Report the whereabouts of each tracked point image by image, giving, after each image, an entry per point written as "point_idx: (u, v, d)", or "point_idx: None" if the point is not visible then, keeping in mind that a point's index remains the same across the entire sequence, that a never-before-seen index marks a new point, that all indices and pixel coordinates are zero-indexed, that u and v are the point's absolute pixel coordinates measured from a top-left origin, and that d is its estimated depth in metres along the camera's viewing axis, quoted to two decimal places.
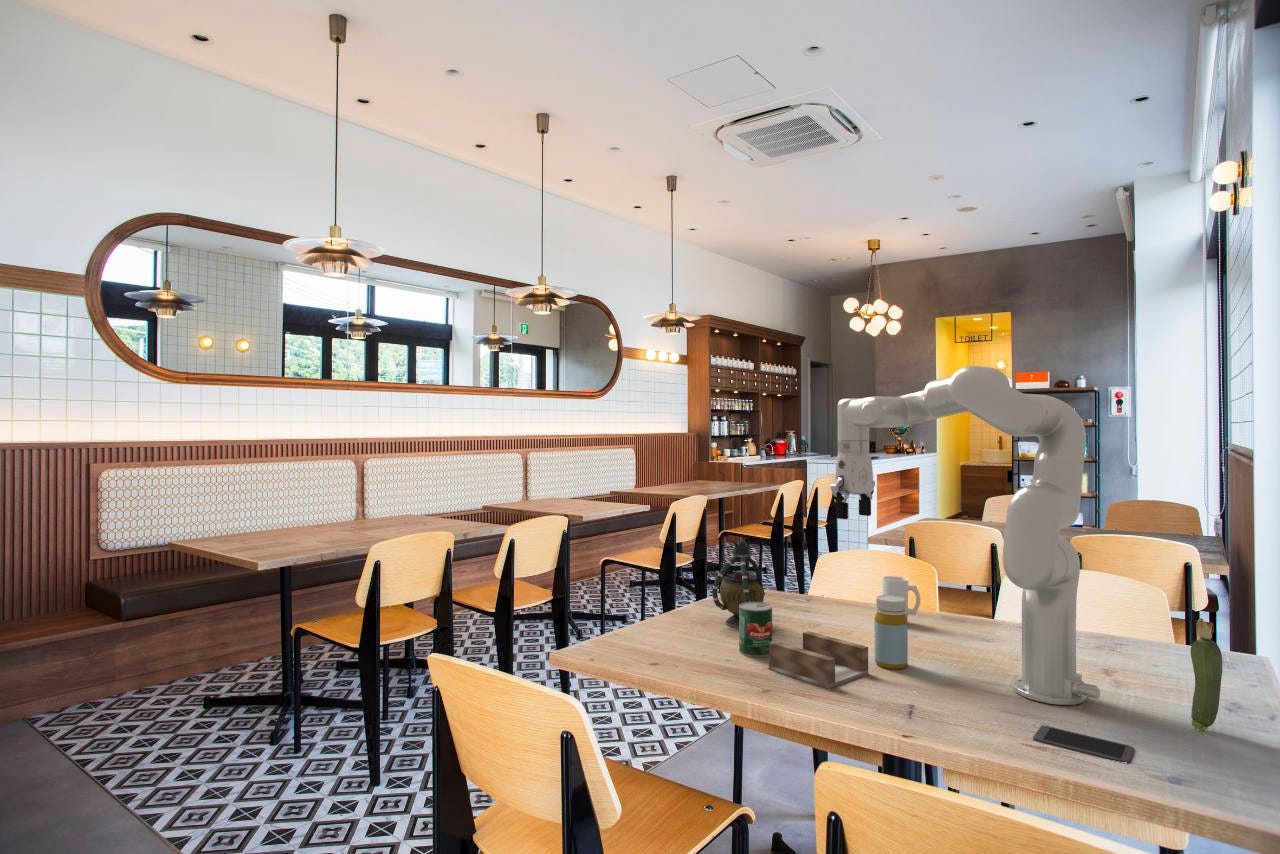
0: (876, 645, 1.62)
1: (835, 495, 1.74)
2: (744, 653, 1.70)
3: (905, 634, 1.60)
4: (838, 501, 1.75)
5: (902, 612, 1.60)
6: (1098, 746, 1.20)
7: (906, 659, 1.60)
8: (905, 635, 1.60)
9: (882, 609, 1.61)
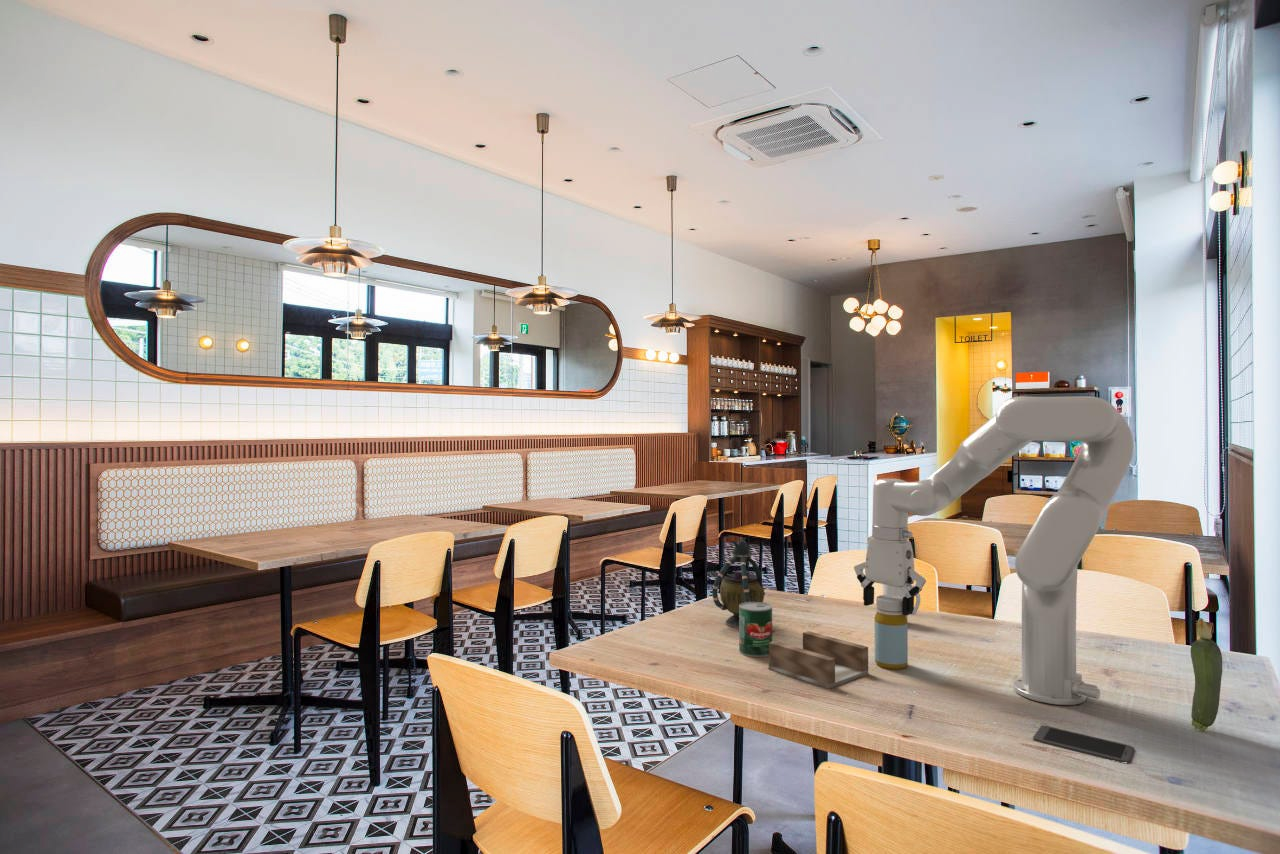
0: (876, 645, 1.62)
1: (919, 590, 1.57)
2: (744, 653, 1.70)
3: (905, 634, 1.60)
4: (912, 596, 1.58)
5: None
6: (1098, 746, 1.20)
7: (906, 659, 1.60)
8: (905, 635, 1.60)
9: (882, 609, 1.61)
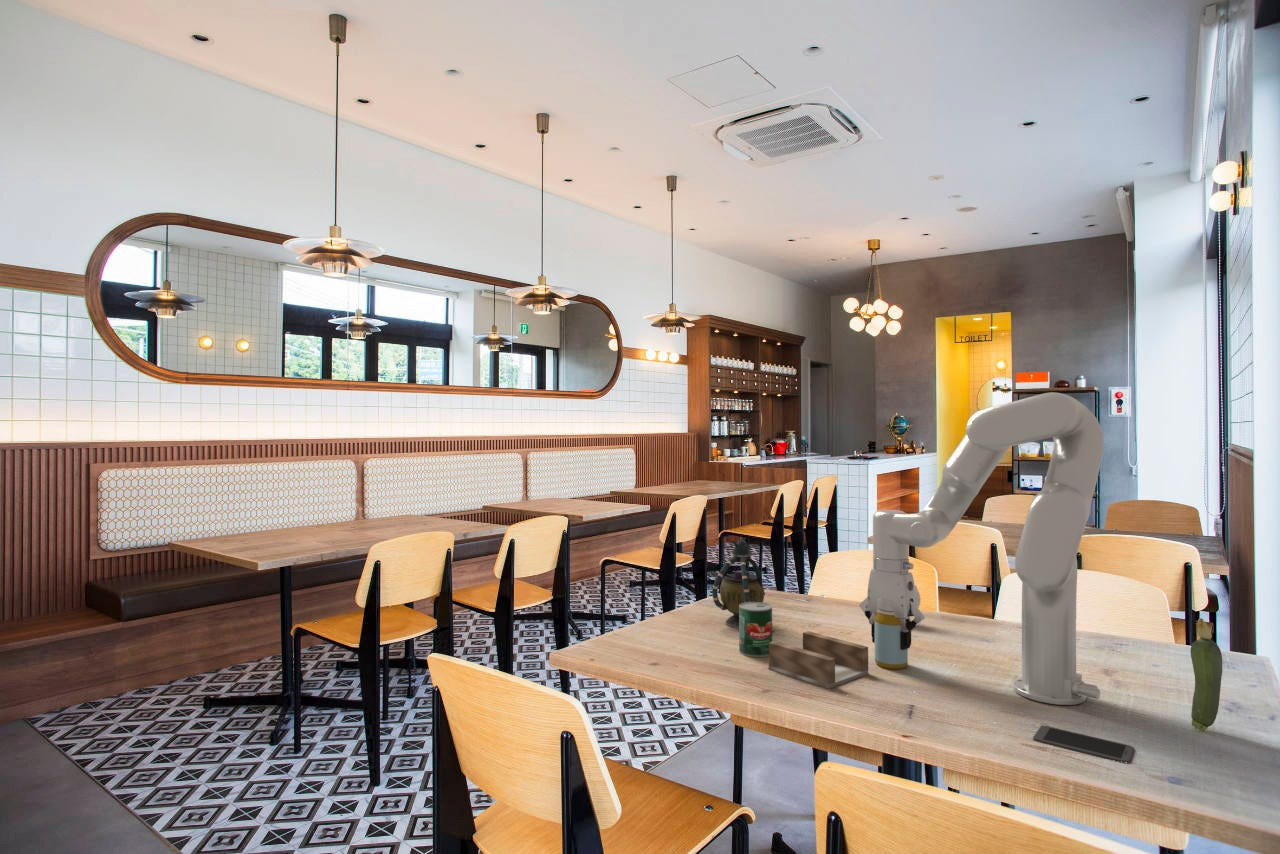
0: (876, 645, 1.62)
1: (916, 624, 1.58)
2: (744, 653, 1.70)
3: None
4: (910, 630, 1.59)
5: None
6: (1098, 746, 1.20)
7: (906, 659, 1.60)
8: None
9: (882, 609, 1.61)
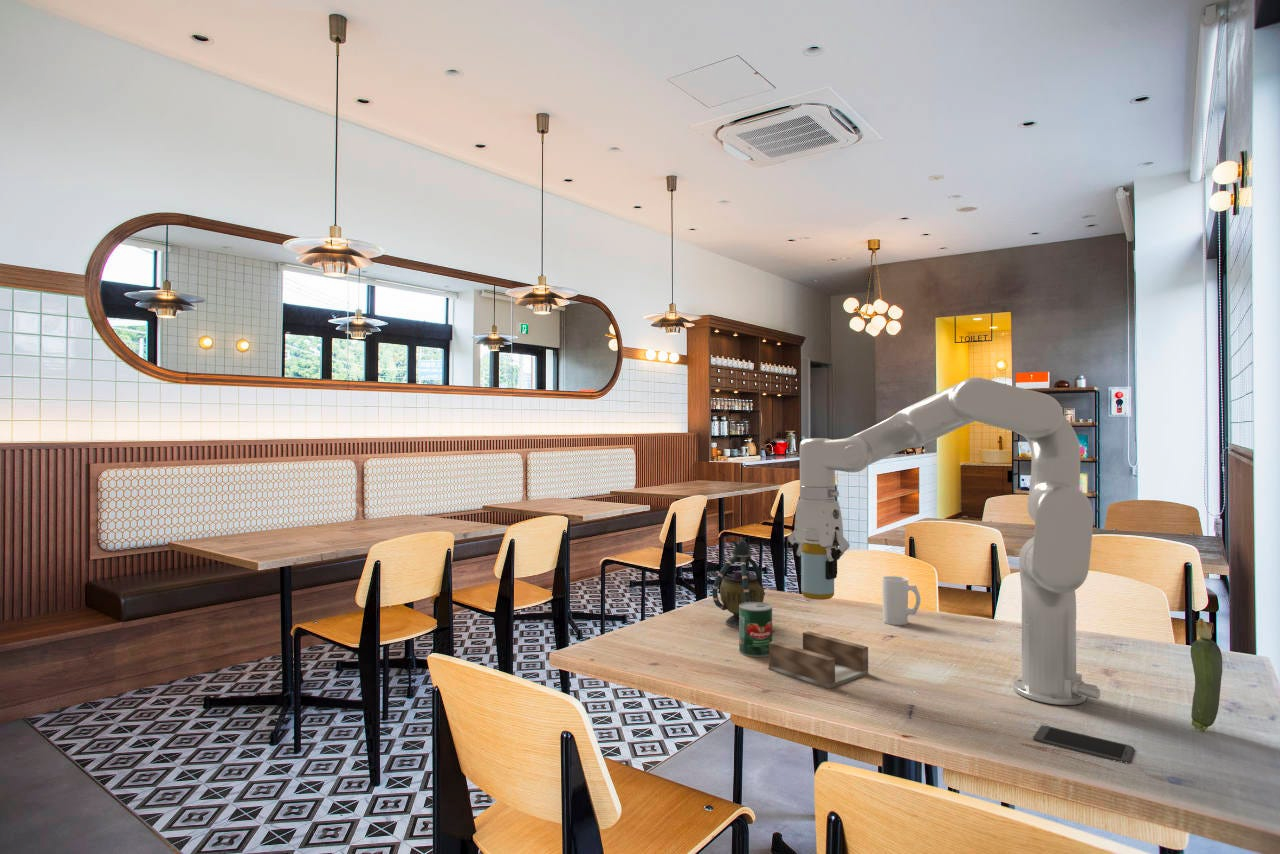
0: (802, 576, 1.58)
1: (841, 553, 1.54)
2: (744, 653, 1.70)
3: None
4: (835, 559, 1.55)
5: None
6: (1098, 746, 1.20)
7: (832, 589, 1.56)
8: None
9: (808, 538, 1.57)
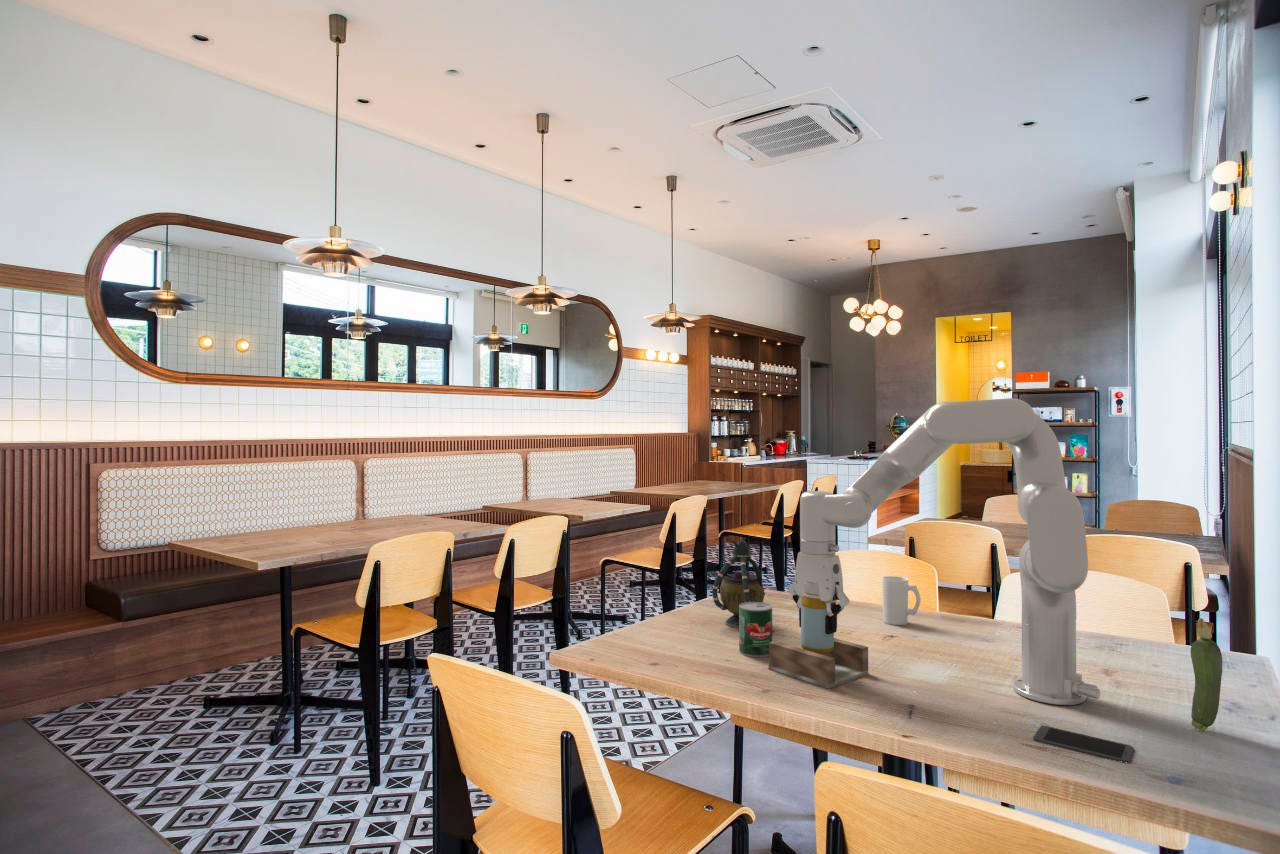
0: (802, 629, 1.58)
1: (841, 608, 1.54)
2: (744, 653, 1.70)
3: None
4: (835, 614, 1.55)
5: None
6: (1098, 746, 1.20)
7: (832, 644, 1.56)
8: None
9: (808, 592, 1.57)
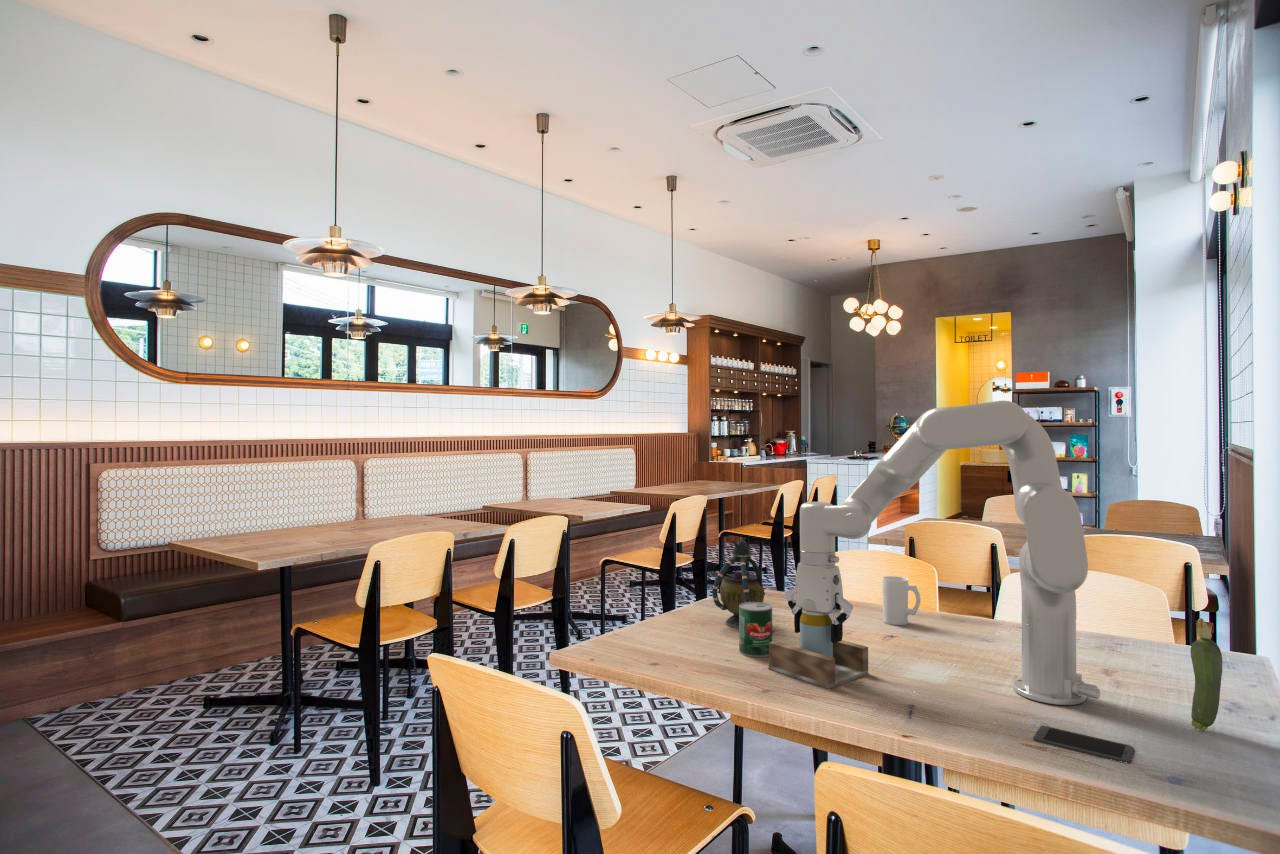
0: (801, 646, 1.58)
1: (847, 616, 1.53)
2: (744, 653, 1.70)
3: (829, 635, 1.56)
4: (841, 623, 1.54)
5: None
6: (1098, 746, 1.20)
7: None
8: (830, 636, 1.56)
9: (806, 609, 1.57)
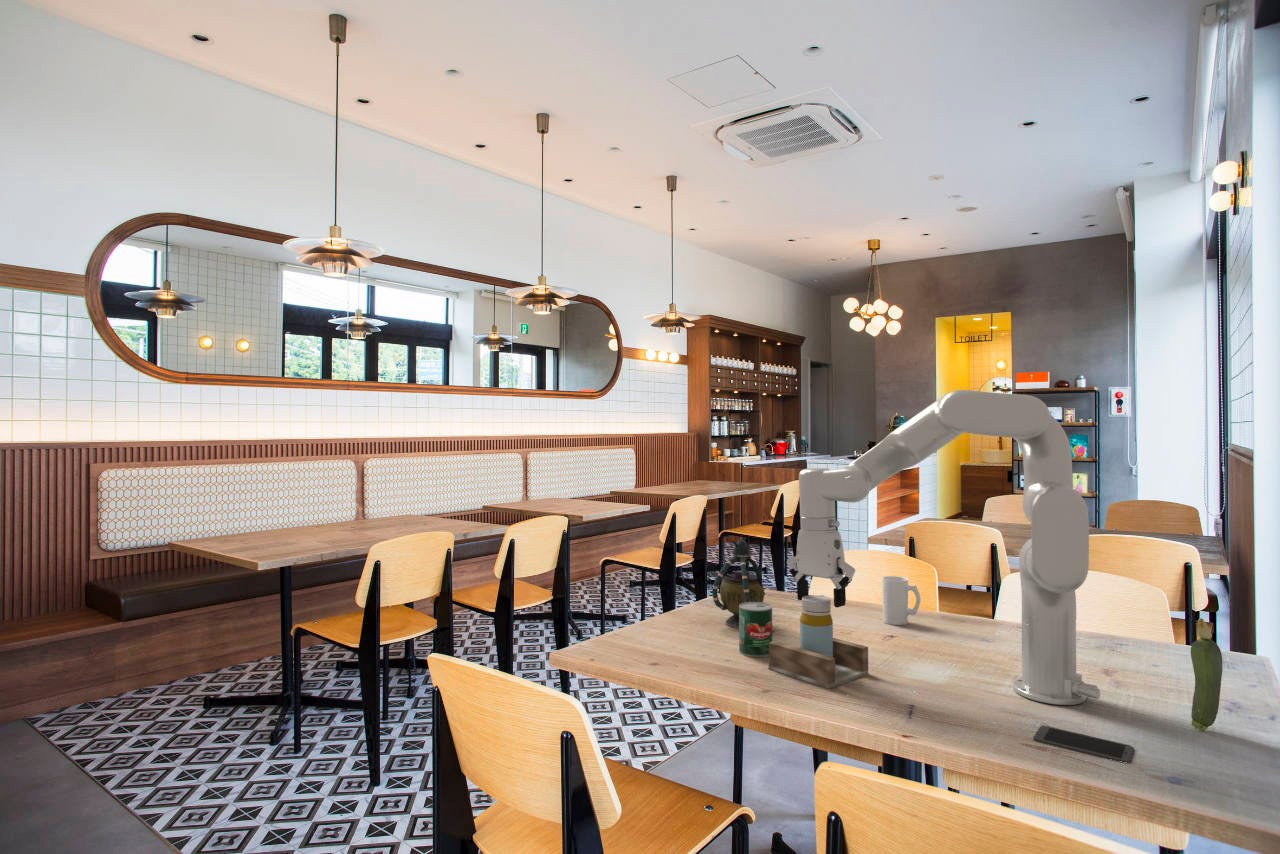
0: (801, 646, 1.58)
1: (849, 580, 1.52)
2: (744, 653, 1.70)
3: (829, 635, 1.56)
4: (843, 587, 1.53)
5: (826, 613, 1.57)
6: (1098, 746, 1.20)
7: None
8: (830, 636, 1.56)
9: (806, 609, 1.57)
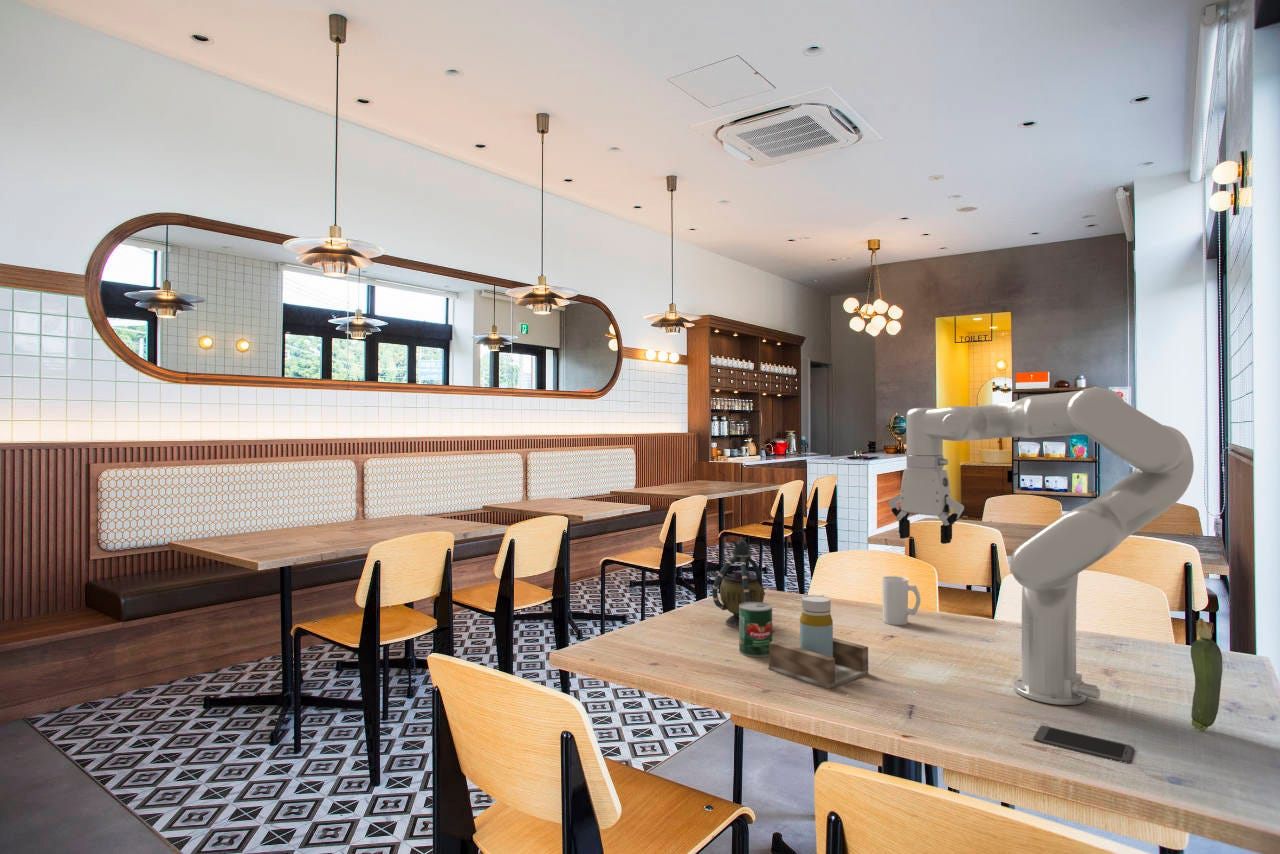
0: (801, 646, 1.58)
1: (958, 517, 1.54)
2: (744, 653, 1.70)
3: (829, 635, 1.56)
4: (951, 524, 1.55)
5: (826, 613, 1.57)
6: (1098, 746, 1.20)
7: None
8: (830, 636, 1.56)
9: (806, 609, 1.57)
